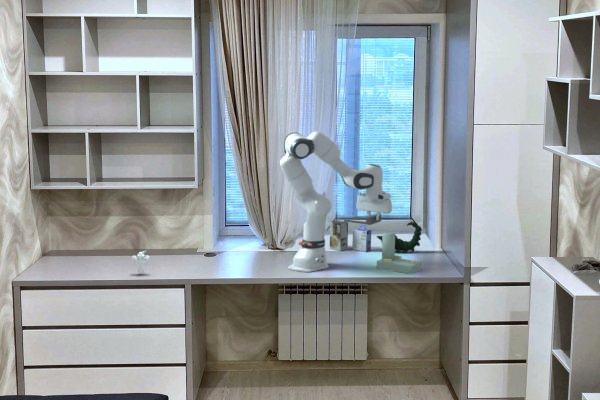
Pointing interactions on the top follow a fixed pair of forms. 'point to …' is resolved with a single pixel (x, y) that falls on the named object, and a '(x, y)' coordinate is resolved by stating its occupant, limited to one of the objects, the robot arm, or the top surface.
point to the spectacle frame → (369, 220)
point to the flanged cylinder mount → (395, 257)
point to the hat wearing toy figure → (141, 262)
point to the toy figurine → (407, 245)
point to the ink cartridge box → (361, 239)
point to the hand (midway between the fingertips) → (373, 219)
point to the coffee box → (339, 235)
